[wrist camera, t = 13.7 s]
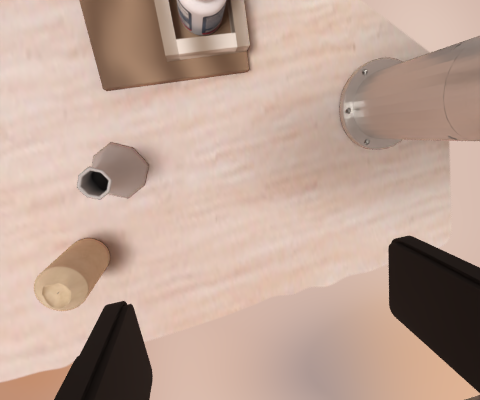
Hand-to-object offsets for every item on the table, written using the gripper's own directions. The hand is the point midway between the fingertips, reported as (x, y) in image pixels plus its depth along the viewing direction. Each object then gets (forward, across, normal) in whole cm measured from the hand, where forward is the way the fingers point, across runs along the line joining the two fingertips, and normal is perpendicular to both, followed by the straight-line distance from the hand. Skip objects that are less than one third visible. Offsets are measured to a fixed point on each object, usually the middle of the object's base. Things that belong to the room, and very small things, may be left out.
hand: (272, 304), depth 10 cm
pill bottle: (+29, -2, -20) cm, 35 cm away
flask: (+31, +12, -3) cm, 33 cm away
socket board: (+30, +2, -20) cm, 36 cm away
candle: (+31, +19, +8) cm, 37 cm away
